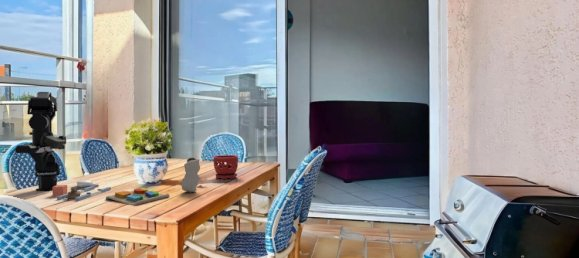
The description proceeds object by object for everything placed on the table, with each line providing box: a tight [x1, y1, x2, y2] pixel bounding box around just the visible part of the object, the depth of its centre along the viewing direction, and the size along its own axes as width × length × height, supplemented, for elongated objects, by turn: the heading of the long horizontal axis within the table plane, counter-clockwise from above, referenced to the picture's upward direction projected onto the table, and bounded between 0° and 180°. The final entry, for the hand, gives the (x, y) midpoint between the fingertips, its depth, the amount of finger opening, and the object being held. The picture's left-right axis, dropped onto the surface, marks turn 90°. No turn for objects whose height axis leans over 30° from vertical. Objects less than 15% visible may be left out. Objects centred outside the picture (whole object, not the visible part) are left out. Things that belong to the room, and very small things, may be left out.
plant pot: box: [213, 154, 239, 180], centre depth 203 cm, size 13×13×12 cm
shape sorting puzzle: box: [105, 187, 171, 206], centre depth 154 cm, size 18×19×4 cm
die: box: [52, 184, 68, 197], centre depth 158 cm, size 4×4×4 cm
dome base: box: [70, 183, 100, 191], centre depth 173 cm, size 8×8×1 cm
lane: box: [56, 186, 112, 202], centre depth 159 cm, size 10×21×2 cm, turn 172°
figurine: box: [180, 157, 201, 193], centre depth 167 cm, size 9×10×15 cm
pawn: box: [67, 189, 81, 200], centre depth 152 cm, size 4×4×4 cm
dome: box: [76, 179, 94, 187], centre depth 172 cm, size 6×6×2 cm
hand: (41, 169), depth 147 cm, fingers closed
